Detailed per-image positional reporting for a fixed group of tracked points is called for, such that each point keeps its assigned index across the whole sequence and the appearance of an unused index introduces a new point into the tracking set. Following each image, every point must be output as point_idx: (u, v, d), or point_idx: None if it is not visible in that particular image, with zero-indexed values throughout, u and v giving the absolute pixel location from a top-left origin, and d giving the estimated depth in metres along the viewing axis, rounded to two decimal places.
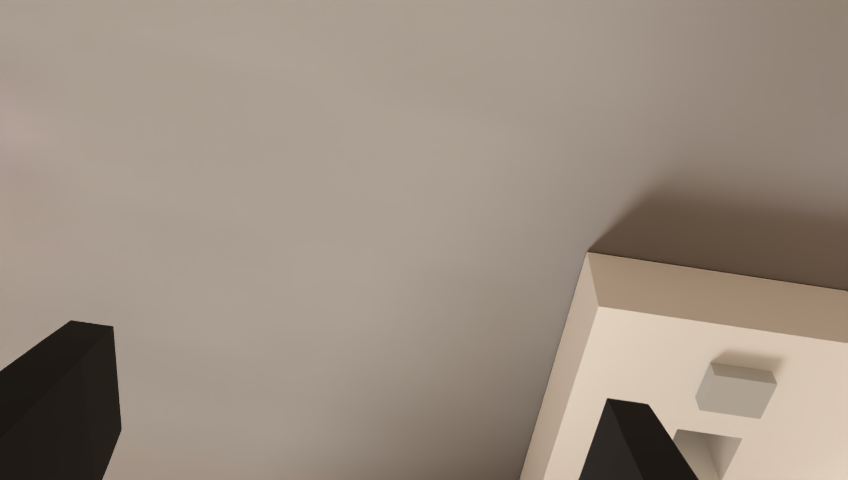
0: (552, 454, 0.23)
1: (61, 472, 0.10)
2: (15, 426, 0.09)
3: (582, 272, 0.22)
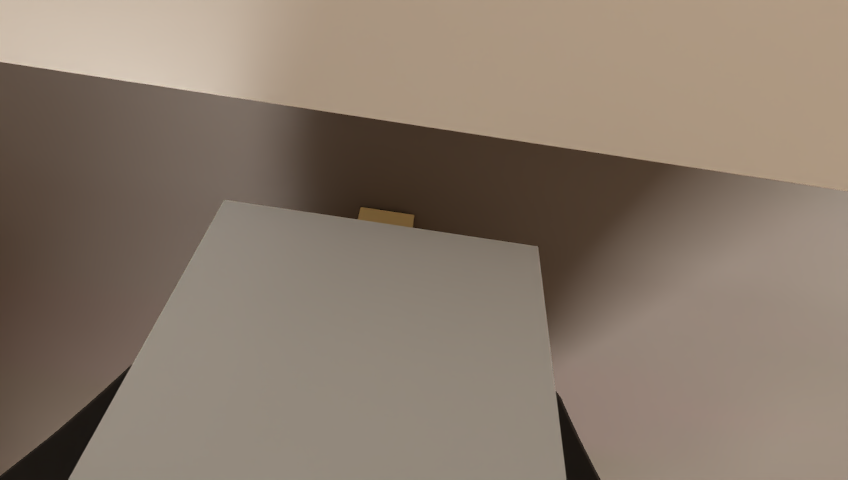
0: None
1: None
2: None
3: None
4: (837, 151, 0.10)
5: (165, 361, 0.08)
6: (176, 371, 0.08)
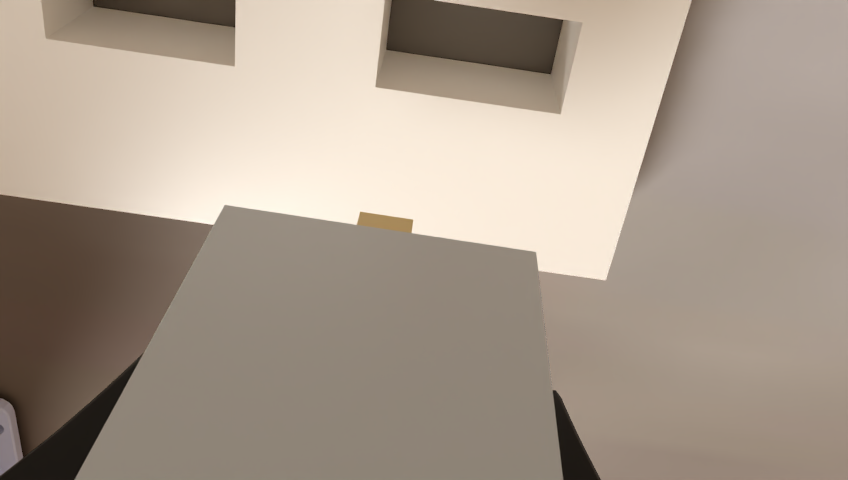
0: None
1: None
2: None
3: None
4: None
5: (167, 367, 0.08)
6: (178, 377, 0.08)
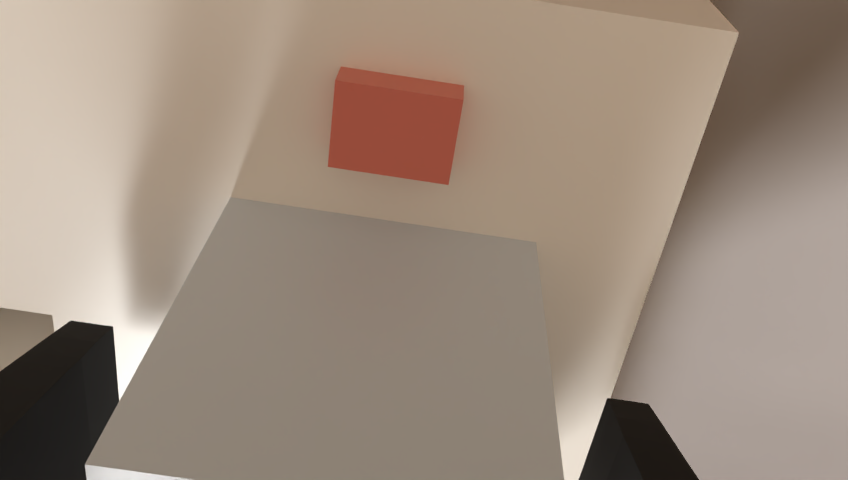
0: None
1: (61, 472, 0.10)
2: (15, 426, 0.09)
3: None
4: None
5: (176, 352, 0.09)
6: (187, 361, 0.08)
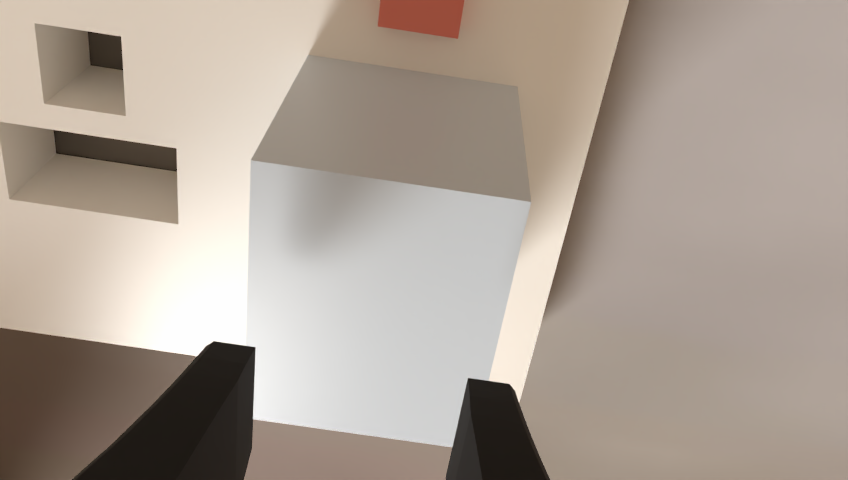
0: None
1: None
2: (195, 452, 0.09)
3: None
4: None
5: (290, 121, 0.14)
6: (298, 125, 0.14)
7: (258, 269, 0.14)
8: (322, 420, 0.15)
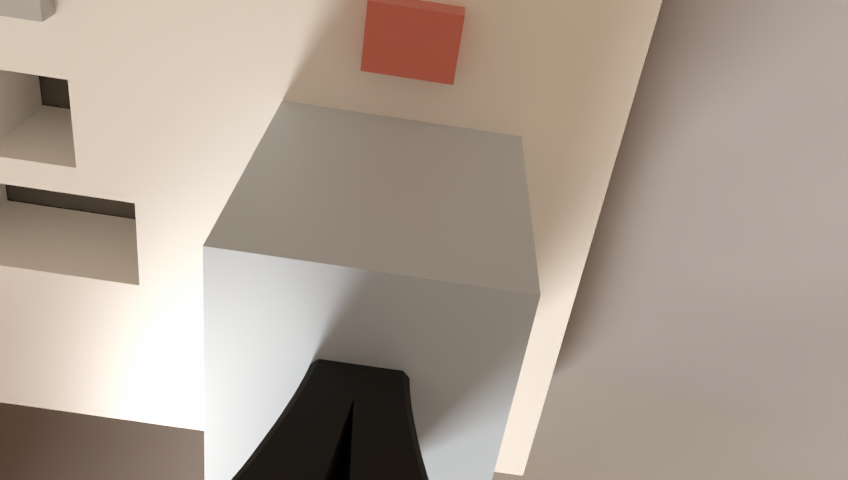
0: None
1: None
2: (328, 470, 0.09)
3: None
4: None
5: (255, 190, 0.12)
6: (263, 195, 0.12)
7: (216, 368, 0.11)
8: None
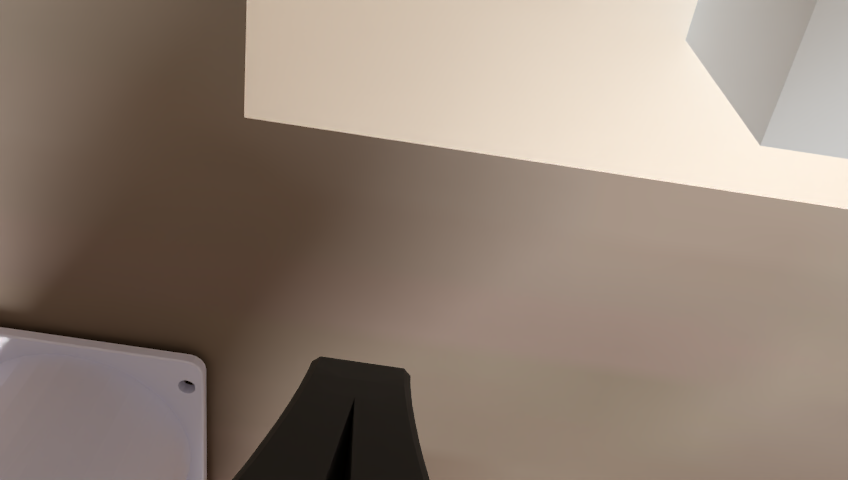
0: None
1: None
2: (329, 470, 0.09)
3: None
4: (828, 185, 0.18)
5: None
6: None
7: None
8: None
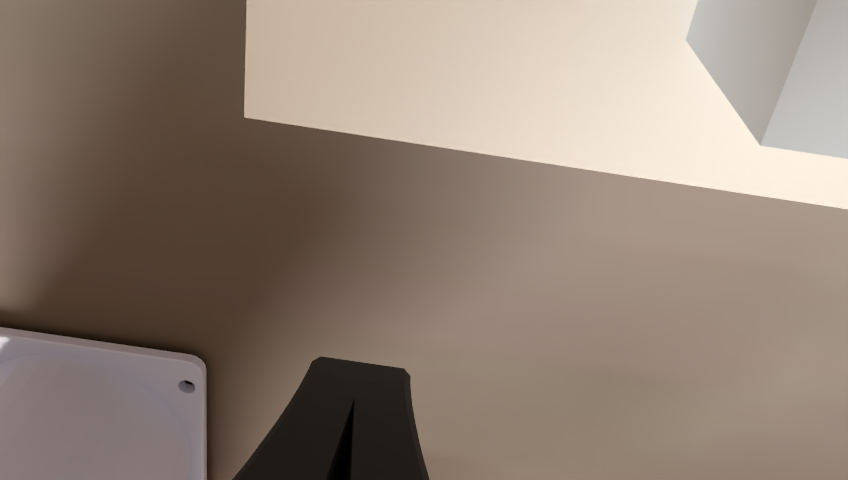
0: None
1: None
2: (329, 470, 0.09)
3: None
4: (828, 185, 0.18)
5: None
6: None
7: None
8: None
